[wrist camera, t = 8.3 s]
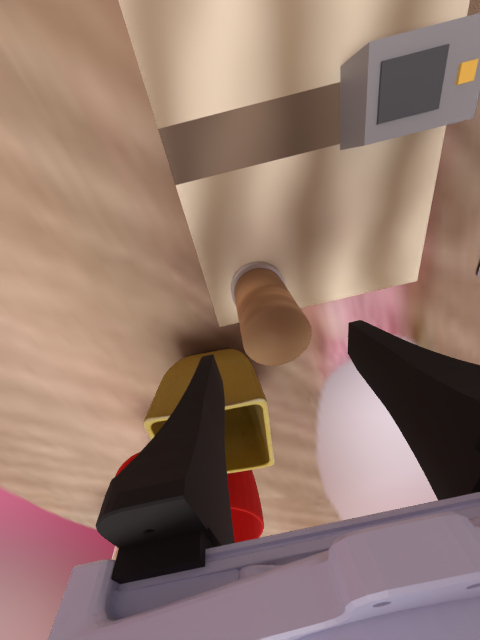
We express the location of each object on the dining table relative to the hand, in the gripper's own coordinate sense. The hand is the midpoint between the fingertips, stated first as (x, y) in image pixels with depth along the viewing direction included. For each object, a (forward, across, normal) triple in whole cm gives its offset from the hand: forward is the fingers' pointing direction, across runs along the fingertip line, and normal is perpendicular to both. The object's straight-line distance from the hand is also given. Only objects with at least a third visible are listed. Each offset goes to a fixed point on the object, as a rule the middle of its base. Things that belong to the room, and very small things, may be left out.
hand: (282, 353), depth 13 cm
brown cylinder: (+9, 0, 0) cm, 9 cm away
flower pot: (+11, +6, +9) cm, 15 cm away
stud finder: (+9, -10, -10) cm, 17 cm away
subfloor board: (+10, -5, -7) cm, 13 cm away
